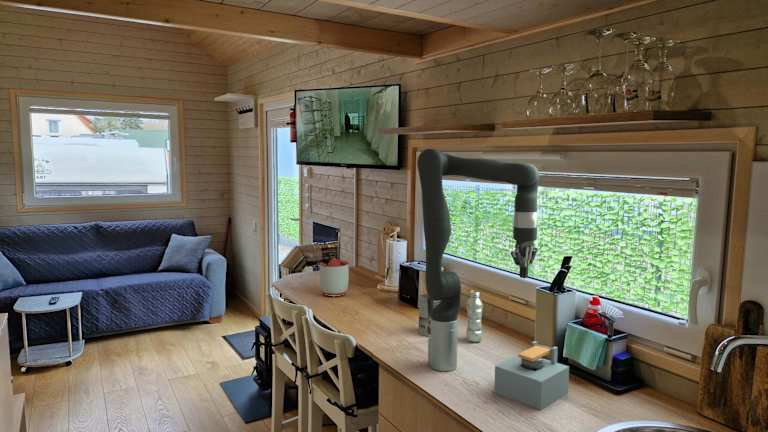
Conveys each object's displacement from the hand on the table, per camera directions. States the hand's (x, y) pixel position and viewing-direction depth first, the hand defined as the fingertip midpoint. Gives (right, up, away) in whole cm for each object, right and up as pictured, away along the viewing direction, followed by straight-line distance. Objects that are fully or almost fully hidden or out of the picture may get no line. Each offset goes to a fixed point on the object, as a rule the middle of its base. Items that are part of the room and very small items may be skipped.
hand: (523, 277), depth 174 cm
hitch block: (0, -34, -10) cm, 36 cm away
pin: (0, -34, -10) cm, 35 cm away
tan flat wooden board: (+1, -23, -10) cm, 25 cm away
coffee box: (-26, -28, +45) cm, 59 cm away
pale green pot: (-73, -21, +105) cm, 130 cm away
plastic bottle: (-10, -29, +35) cm, 47 cm away
